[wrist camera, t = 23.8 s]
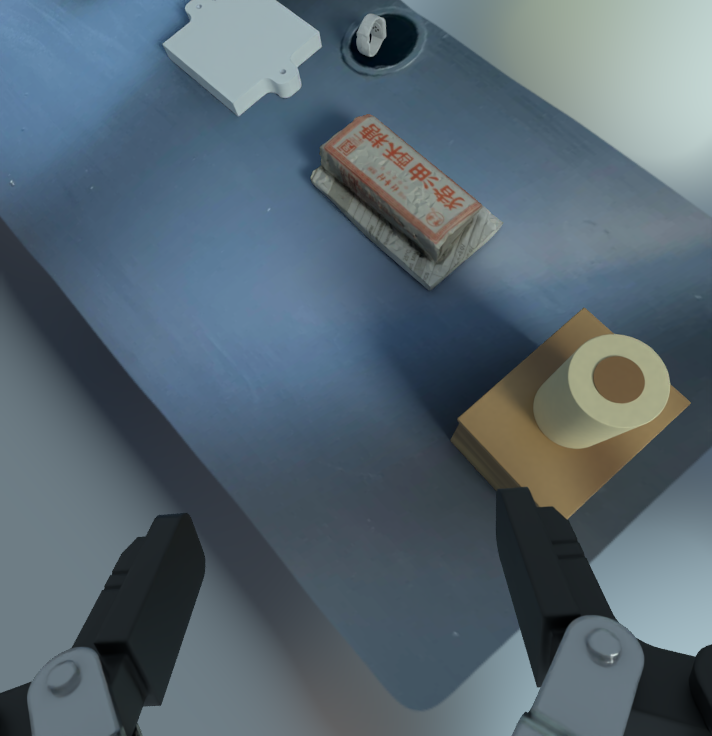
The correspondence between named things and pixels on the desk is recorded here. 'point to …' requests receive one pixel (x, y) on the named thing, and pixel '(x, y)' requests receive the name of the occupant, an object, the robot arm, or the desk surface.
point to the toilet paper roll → (602, 392)
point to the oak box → (529, 444)
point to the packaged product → (402, 200)
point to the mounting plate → (243, 49)
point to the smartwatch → (374, 27)
